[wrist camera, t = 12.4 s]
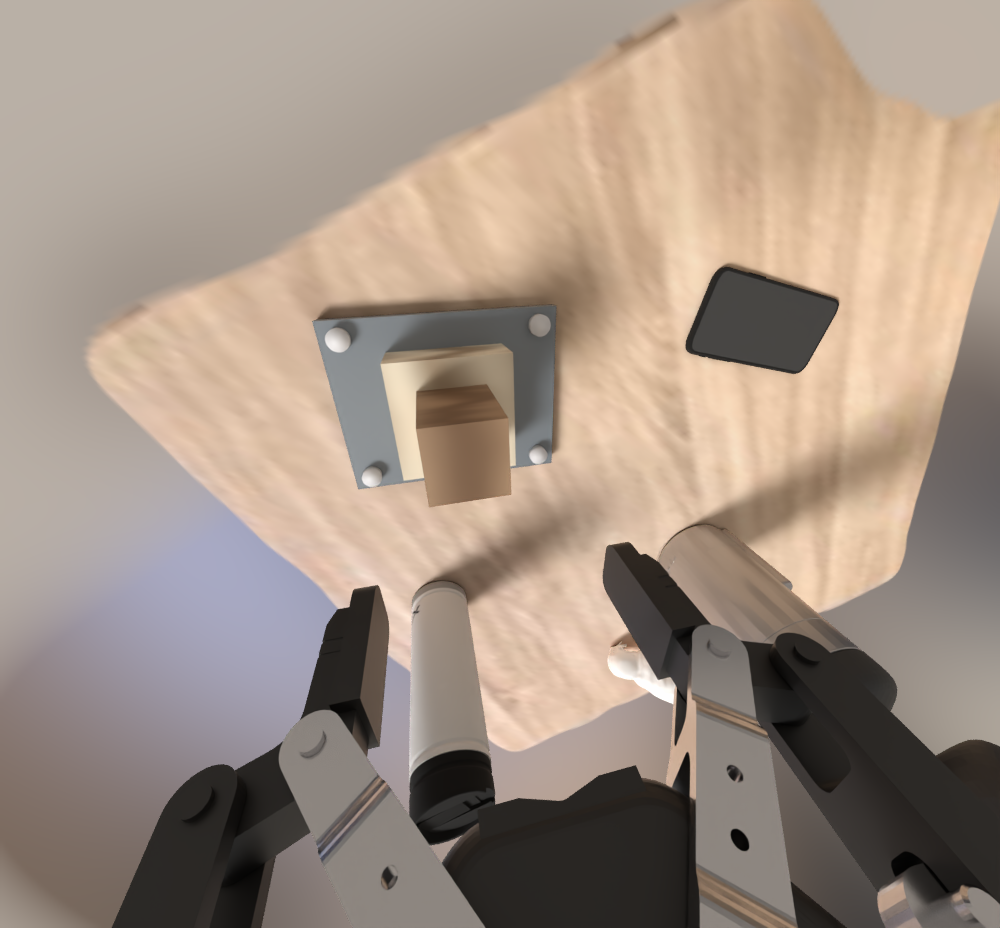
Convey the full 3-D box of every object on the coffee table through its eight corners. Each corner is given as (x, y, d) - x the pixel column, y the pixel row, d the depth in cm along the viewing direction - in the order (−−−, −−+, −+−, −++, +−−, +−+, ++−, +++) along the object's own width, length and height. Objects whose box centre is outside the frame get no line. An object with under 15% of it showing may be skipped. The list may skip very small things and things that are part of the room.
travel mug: (399, 594, 40) (385, 838, 23) (453, 571, 40) (481, 797, 23) (423, 626, 43) (427, 861, 26) (473, 605, 43) (511, 825, 26)
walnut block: (486, 384, 25) (508, 418, 19) (490, 446, 28) (511, 494, 22) (416, 391, 25) (415, 429, 19) (426, 455, 27) (429, 507, 21)
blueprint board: (551, 304, 29) (559, 306, 27) (547, 457, 36) (554, 466, 34) (316, 319, 26) (309, 322, 24) (360, 482, 33) (357, 494, 31)
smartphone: (802, 376, 37) (685, 353, 33) (793, 374, 38) (678, 351, 33) (845, 299, 34) (722, 263, 30) (835, 299, 35) (713, 263, 30)
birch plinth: (501, 343, 28) (513, 352, 25) (505, 445, 33) (515, 465, 29) (385, 352, 27) (380, 364, 23) (405, 457, 31) (403, 480, 28)
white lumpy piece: (694, 715, 50) (616, 715, 48) (663, 658, 57) (594, 656, 55) (715, 687, 47) (633, 686, 45) (679, 631, 55) (608, 628, 53)
